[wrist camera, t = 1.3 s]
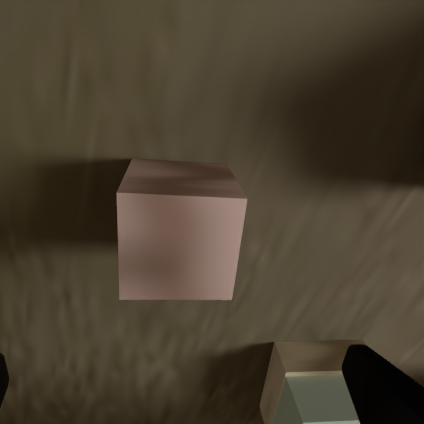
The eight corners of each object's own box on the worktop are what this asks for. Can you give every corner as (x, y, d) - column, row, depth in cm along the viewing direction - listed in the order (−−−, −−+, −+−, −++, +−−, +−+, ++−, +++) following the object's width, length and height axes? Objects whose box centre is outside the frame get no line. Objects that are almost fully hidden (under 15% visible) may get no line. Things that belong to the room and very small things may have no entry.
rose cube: (227, 164, 17) (247, 198, 12) (217, 244, 19) (231, 299, 14) (132, 158, 16) (116, 192, 12) (132, 242, 18) (119, 299, 14)
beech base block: (359, 335, 24) (383, 369, 21) (336, 396, 27) (354, 433, 24) (272, 336, 23) (285, 372, 20) (257, 400, 26) (267, 438, 23)
